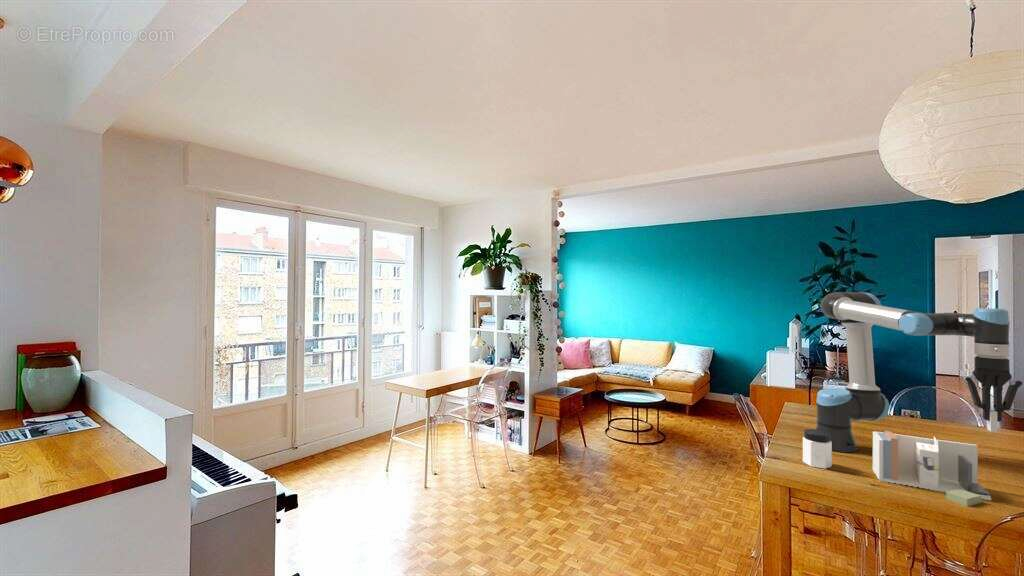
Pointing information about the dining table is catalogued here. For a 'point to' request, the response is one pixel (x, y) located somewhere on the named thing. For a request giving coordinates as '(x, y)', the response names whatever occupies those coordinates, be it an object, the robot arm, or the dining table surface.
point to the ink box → (927, 463)
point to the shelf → (899, 461)
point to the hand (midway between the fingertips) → (992, 430)
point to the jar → (817, 448)
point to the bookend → (968, 477)
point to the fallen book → (963, 497)
